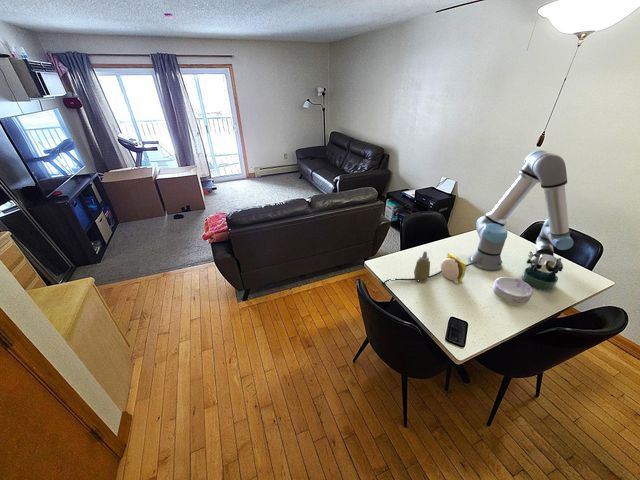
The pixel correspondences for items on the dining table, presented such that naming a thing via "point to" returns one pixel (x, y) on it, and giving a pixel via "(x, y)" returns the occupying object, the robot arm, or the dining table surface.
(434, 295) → the dining table surface
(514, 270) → the dining table surface
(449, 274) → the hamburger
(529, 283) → the glazed bowl
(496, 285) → the lavender bowl
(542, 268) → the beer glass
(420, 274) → the squeeze bottle
